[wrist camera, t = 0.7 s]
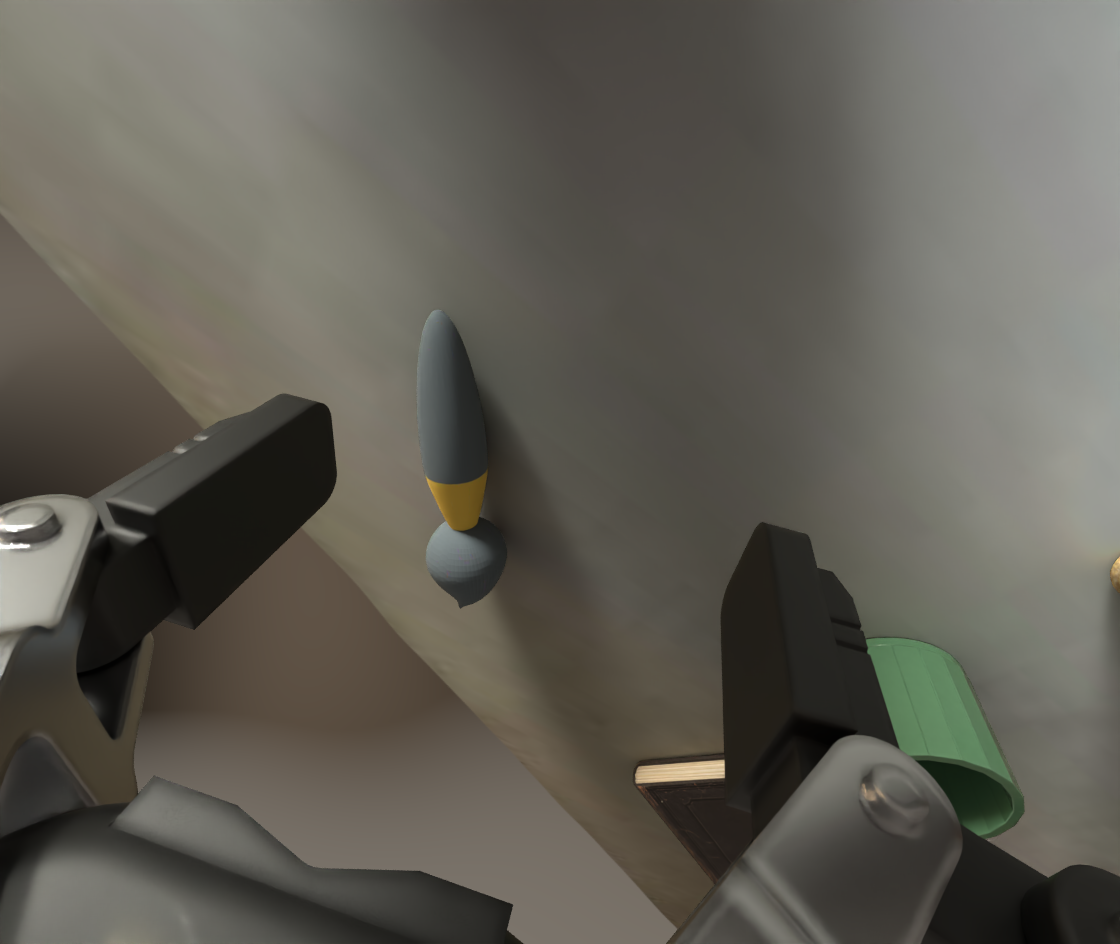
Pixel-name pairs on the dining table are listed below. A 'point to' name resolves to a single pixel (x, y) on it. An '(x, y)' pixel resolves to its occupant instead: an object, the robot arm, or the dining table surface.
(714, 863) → the hardcover book
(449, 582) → the paintbrush
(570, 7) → the dining table surface
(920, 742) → the cup
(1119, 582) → the sprinkles bottle
